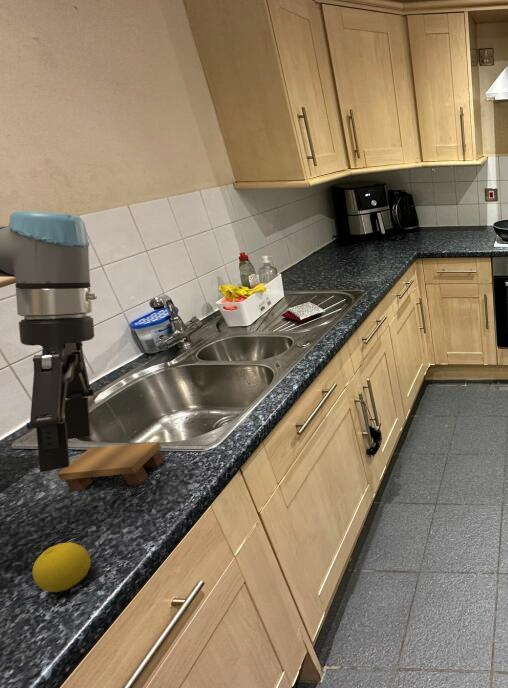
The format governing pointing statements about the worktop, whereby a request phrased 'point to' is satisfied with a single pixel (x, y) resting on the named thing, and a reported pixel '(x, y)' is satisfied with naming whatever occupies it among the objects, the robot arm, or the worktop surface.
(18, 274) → the robot arm
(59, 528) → the worktop surface
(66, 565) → the lemon
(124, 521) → the worktop surface
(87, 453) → the serving board
